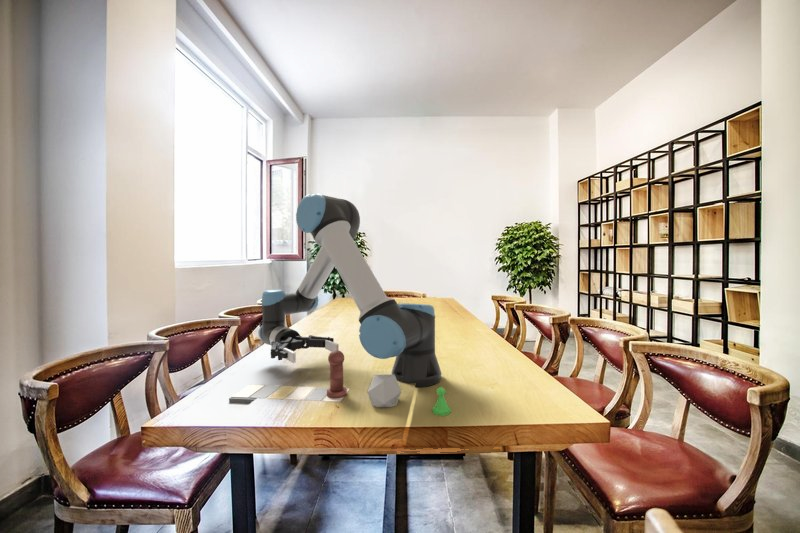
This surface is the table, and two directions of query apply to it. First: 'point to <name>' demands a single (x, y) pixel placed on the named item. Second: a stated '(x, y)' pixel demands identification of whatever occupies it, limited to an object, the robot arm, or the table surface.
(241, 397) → the board
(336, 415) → the table surface
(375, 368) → the table surface
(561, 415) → the table surface
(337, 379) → the pawn
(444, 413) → the game piece
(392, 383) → the die
